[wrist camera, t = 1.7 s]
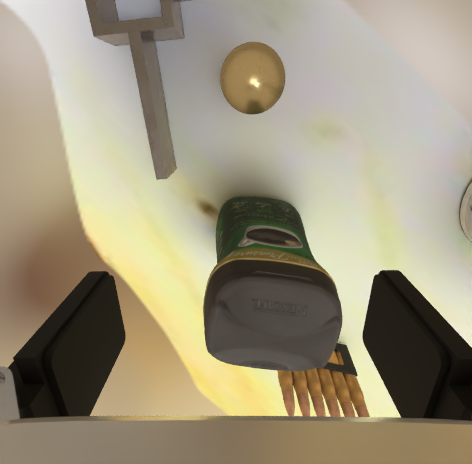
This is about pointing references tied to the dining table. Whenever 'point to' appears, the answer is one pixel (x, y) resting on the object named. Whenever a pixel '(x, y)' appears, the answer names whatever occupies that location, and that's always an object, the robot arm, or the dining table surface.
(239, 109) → the hinge pin
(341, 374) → the ammunition clip
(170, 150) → the hinge
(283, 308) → the coffee jar
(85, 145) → the dining table surface
